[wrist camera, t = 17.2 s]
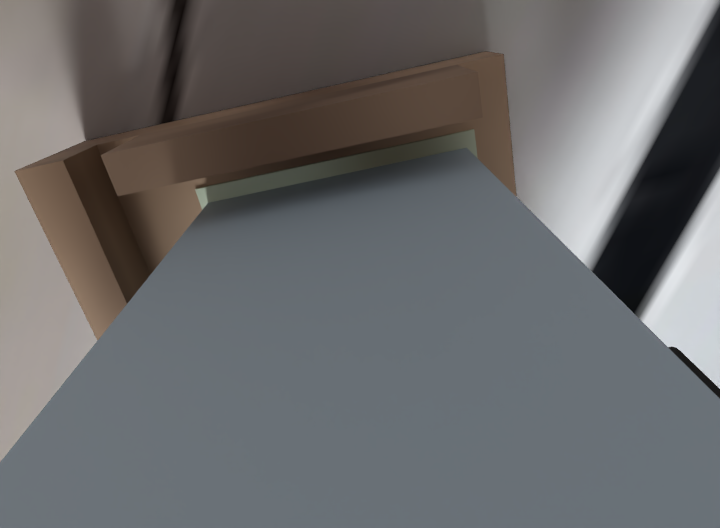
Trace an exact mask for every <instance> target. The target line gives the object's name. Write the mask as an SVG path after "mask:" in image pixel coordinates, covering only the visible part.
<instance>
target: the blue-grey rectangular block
mask: <svg viewBox="0 0 720 528" xmlns="http://www.w3.org/2000/svg"><path fill="white" fill-rule="evenodd" d="M0 528H720V398H719V397H718V396H717V395H715V394H714V393H713V392H712V391H711V390H710V389H709V388H708V387H707V386H706V385H705V384H704V383H703V382H702V381H701V380H700V379H699V378H698V377H697V376H696V375H695V374H694V373H693V372H692V371H691V370H690V369H689V368H688V367H687V366H686V365H685V364H684V363H683V362H682V361H681V360H680V359H679V358H678V357H677V356H676V355H675V354H674V353H673V352H672V351H671V350H670V349H669V348H668V347H667V346H666V345H665V344H664V343H663V342H662V341H661V340H660V339H659V338H658V337H657V336H656V335H655V334H654V333H653V332H652V331H651V330H650V329H649V328H648V327H647V326H646V325H645V324H644V323H643V322H642V321H641V320H640V319H639V318H638V317H637V316H636V315H635V314H634V313H633V312H632V311H631V310H630V309H629V308H628V307H627V306H626V305H625V304H624V303H623V302H622V301H621V300H620V299H619V298H618V297H617V296H616V295H615V294H614V293H613V292H612V291H611V290H610V289H609V288H608V287H607V286H606V285H605V284H604V283H603V282H602V281H601V280H600V279H599V278H598V277H597V276H596V275H595V274H594V273H593V272H591V271H590V270H589V269H588V268H587V267H586V266H585V265H584V264H583V263H582V262H581V261H580V260H579V259H578V258H577V257H576V256H575V255H574V254H573V253H572V252H571V251H570V250H569V249H568V248H567V247H566V246H565V245H564V244H563V243H562V242H561V241H560V240H559V239H558V238H557V237H556V236H555V235H554V234H553V233H552V232H551V231H550V230H549V229H548V228H547V227H546V226H545V225H544V224H543V223H542V222H541V221H540V220H539V219H538V218H537V217H536V216H535V215H534V214H533V213H532V212H531V211H530V210H529V209H528V208H527V207H526V206H525V205H524V204H523V203H522V202H521V201H520V200H519V199H518V198H517V197H516V196H515V195H514V194H513V193H512V192H511V191H510V190H509V189H508V188H507V187H506V186H505V185H504V184H503V183H502V182H501V181H500V180H499V179H498V178H497V177H496V176H495V175H494V174H493V173H492V172H491V171H490V170H489V169H488V168H487V167H486V166H485V165H484V164H483V163H482V162H481V161H480V160H479V159H478V158H477V157H476V156H475V155H474V154H473V153H472V152H471V151H470V150H469V149H467V148H463V149H458V150H453V151H449V152H444V153H439V154H435V155H430V156H425V157H421V158H416V159H411V160H407V161H402V162H397V163H392V164H388V165H383V166H378V167H374V168H369V169H364V170H360V171H355V172H350V173H346V174H341V175H336V176H331V177H327V178H322V179H317V180H313V181H308V182H303V183H299V184H294V185H289V186H285V187H280V188H275V189H270V190H266V191H261V192H256V193H252V194H247V195H242V196H238V197H233V198H228V199H223V200H219V201H214V202H209V203H207V205H206V206H205V207H204V208H203V210H202V211H201V212H200V213H199V215H198V216H197V217H196V218H195V220H194V221H193V222H192V223H191V225H190V226H189V227H188V228H187V230H186V231H185V232H184V233H183V235H182V236H181V237H180V238H179V240H178V241H177V242H176V243H175V245H174V246H173V247H172V248H171V250H170V251H169V252H168V253H167V255H166V256H165V257H164V258H163V260H162V261H161V262H160V263H159V265H158V266H157V267H156V268H155V270H154V271H153V272H152V273H151V275H150V276H149V277H148V278H147V280H146V281H145V282H144V283H143V285H142V286H141V287H140V288H139V290H138V291H137V292H136V293H135V295H134V296H133V297H132V298H131V300H130V301H129V302H128V303H127V305H126V306H125V307H124V308H123V310H122V311H121V312H120V313H119V315H118V316H117V317H116V318H115V320H114V321H113V322H112V323H111V325H110V326H109V327H108V328H107V330H106V331H105V332H104V333H103V335H102V336H101V337H100V338H99V340H98V341H97V342H96V343H95V345H94V346H93V347H92V348H91V350H90V351H89V352H88V353H87V355H86V356H85V357H84V358H83V360H82V361H81V362H80V363H79V365H78V366H77V367H76V368H75V370H74V371H73V372H72V373H71V375H70V376H69V377H68V378H67V380H66V381H65V382H64V383H63V385H62V386H61V387H60V388H59V390H58V391H57V392H56V393H55V395H54V396H53V397H52V398H51V400H50V401H49V402H48V403H47V405H46V406H45V407H44V408H43V410H42V411H41V412H40V413H39V415H38V416H37V417H36V418H35V420H34V421H33V422H32V423H31V425H30V426H29V427H28V428H27V430H26V431H25V432H24V433H23V435H22V436H21V437H20V438H19V440H18V441H17V442H16V443H15V445H14V446H13V447H12V448H11V450H10V451H9V452H8V453H7V455H6V456H5V457H4V458H3V460H2V461H1V462H0Z"/></svg>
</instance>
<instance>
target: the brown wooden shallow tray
mask: <svg viewBox="0 0 720 528" xmlns="http://www.w3.org/2000/svg"><path fill="white" fill-rule="evenodd" d="M463 148H467V149H469V150H470V151H471V152H472V153H473V154H474V155H475V156H476V157H477V158H478V159H479V160H480V161H481V162H482V163H483V164H484V165H485V166H486V167H487V168H488V169H489V170H490V171H491V172H492V173H493V174H494V175H495V176H496V177H497V178H498V179H499V180H500V181H501V182H502V183H503V184H504V185H505V186H506V187H507V188H508V189H509V190H510V191H511V192H512V193H513V194H514V195H515V196H516V187H515V176H514V165H513V154H512V143H511V131H510V120H509V109H508V98H507V87H506V76H505V65H504V54H499V53H493V52H487V51H486V52H481V53H477V54H472V55H468V56H463V57H459V58H454V59H450V60H445V61H441V62H437V63H432V64H428V65H423V66H419V67H414V68H410V69H405V70H401V71H396V72H392V73H387V74H383V75H378V76H374V77H369V78H365V79H361V80H356V81H352V82H347V83H343V84H338V85H334V86H329V87H325V88H320V89H316V90H311V91H307V92H302V93H298V94H293V95H289V96H285V97H280V98H276V99H271V100H267V101H262V102H258V103H253V104H249V105H244V106H240V107H235V108H231V109H226V110H222V111H217V112H213V113H208V114H204V115H200V116H195V117H191V118H186V119H182V120H177V121H173V122H168V123H164V124H159V125H155V126H150V127H146V128H141V129H137V130H132V131H128V132H124V133H119V134H115V135H110V136H106V137H101V138H97V139H92V140H88V141H84V142H82V143H79V144H77V145H75V146H72V147H70V148H68V149H65V150H63V151H61V152H58V153H56V154H54V155H51V156H49V157H47V158H44V159H42V160H39V161H37V162H35V163H32V164H30V165H28V166H25V167H23V168H21V169H18V170H16V171H15V173H16V175H17V177H18V179H19V181H20V183H21V185H22V187H23V189H24V191H25V194H26V196H27V198H28V200H29V202H30V204H31V206H32V208H33V210H34V212H35V214H36V216H37V218H38V220H39V222H40V224H41V226H42V228H43V230H44V232H45V234H46V236H47V238H48V240H49V242H50V245H51V247H52V249H53V251H54V253H55V255H56V257H57V259H58V261H59V263H60V265H61V267H62V269H63V271H64V273H65V275H66V277H67V279H68V281H69V283H70V285H71V287H72V289H73V291H74V293H75V296H76V298H77V300H78V302H79V304H80V306H81V308H82V310H83V312H84V314H85V316H86V318H87V320H88V322H89V324H90V326H91V328H92V330H93V332H94V334H95V336H96V338H97V340H99V338H100V337H101V336H102V335H103V333H104V332H105V331H106V330H107V328H108V327H109V326H110V325H111V323H112V322H113V321H114V320H115V318H116V317H117V316H118V315H119V313H120V312H121V311H122V310H123V308H124V307H125V306H126V305H127V303H128V302H129V301H130V300H131V298H132V297H133V296H134V295H135V293H136V292H137V291H138V290H139V288H140V287H141V286H142V285H143V283H144V282H145V281H146V280H147V278H148V277H149V276H150V275H151V273H152V272H153V271H154V270H155V268H156V267H157V266H158V265H159V263H160V262H161V261H162V260H163V258H164V257H165V256H166V255H167V253H168V252H169V251H170V250H171V248H172V247H173V246H174V245H175V243H176V242H177V241H178V240H179V238H180V237H181V236H182V235H183V233H184V232H185V231H186V230H187V228H188V227H189V226H190V225H191V223H192V222H193V221H194V220H195V218H196V217H197V216H198V215H199V213H200V212H201V211H202V210H203V208H204V207H205V206H206V205H207V203H209V202H214V201H219V200H223V199H228V198H233V197H238V196H242V195H247V194H252V193H256V192H261V191H266V190H270V189H275V188H280V187H285V186H289V185H294V184H299V183H303V182H308V181H313V180H317V179H322V178H327V177H331V176H336V175H341V174H346V173H350V172H355V171H360V170H364V169H369V168H374V167H378V166H383V165H388V164H392V163H397V162H402V161H407V160H411V159H416V158H421V157H425V156H430V155H435V154H439V153H444V152H449V151H453V150H458V149H463Z"/></svg>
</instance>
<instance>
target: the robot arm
mask: <svg viewBox="0 0 720 528" xmlns="http://www.w3.org/2000/svg"><path fill="white" fill-rule="evenodd" d="M668 348H669V349H670V350H671V351H672V352H673V353H674V354H675V355H676V356H677V357H678V358H679V359H680V360H681V361H682V362H683V363H684V364H685V365H686V366H687V367H688V368H689V369H690V370H691V371H692V372H693V373H694V374H695V375H696V376H697V377H698V378H699V379H700V380H701V381H702V382H703V383H704V384H705V385H706V386H707V387H708V388H709V389H710V390H711V391H712V392H713V393H714V394H715V395H717V396H718V397H719V398H720V389H719V388H718V387H717V386H716V385H715V384H714V383H713V382H712V381H711V380H710V379H709V378H708V377H707V376H706V375H705V374H704V373H703V372H702V371H700V370H699V369H698V368H697V367H696V366H695V365H694V364H693V363H692V362H691V361H690V360H689V359H688V358H687V357H686V356H685V355H684V354H683V353H682V352H681V351H680V350H678V349H677V348H675V347H668Z"/></svg>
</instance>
